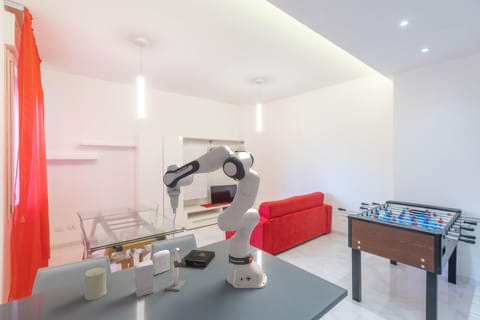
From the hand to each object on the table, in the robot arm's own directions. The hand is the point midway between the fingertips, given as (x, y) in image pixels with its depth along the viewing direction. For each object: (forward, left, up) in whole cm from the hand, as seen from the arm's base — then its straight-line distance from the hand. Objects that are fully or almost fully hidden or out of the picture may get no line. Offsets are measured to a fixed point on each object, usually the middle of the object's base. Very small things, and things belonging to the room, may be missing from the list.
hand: (174, 213), depth 139 cm
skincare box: (+3, +27, -34) cm, 44 cm away
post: (-10, +19, -34) cm, 40 cm away
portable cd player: (-11, -12, -35) cm, 38 cm away
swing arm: (-15, +26, -16) cm, 34 cm away
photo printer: (+6, +6, -34) cm, 35 cm away
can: (+26, +33, -34) cm, 54 cm away
